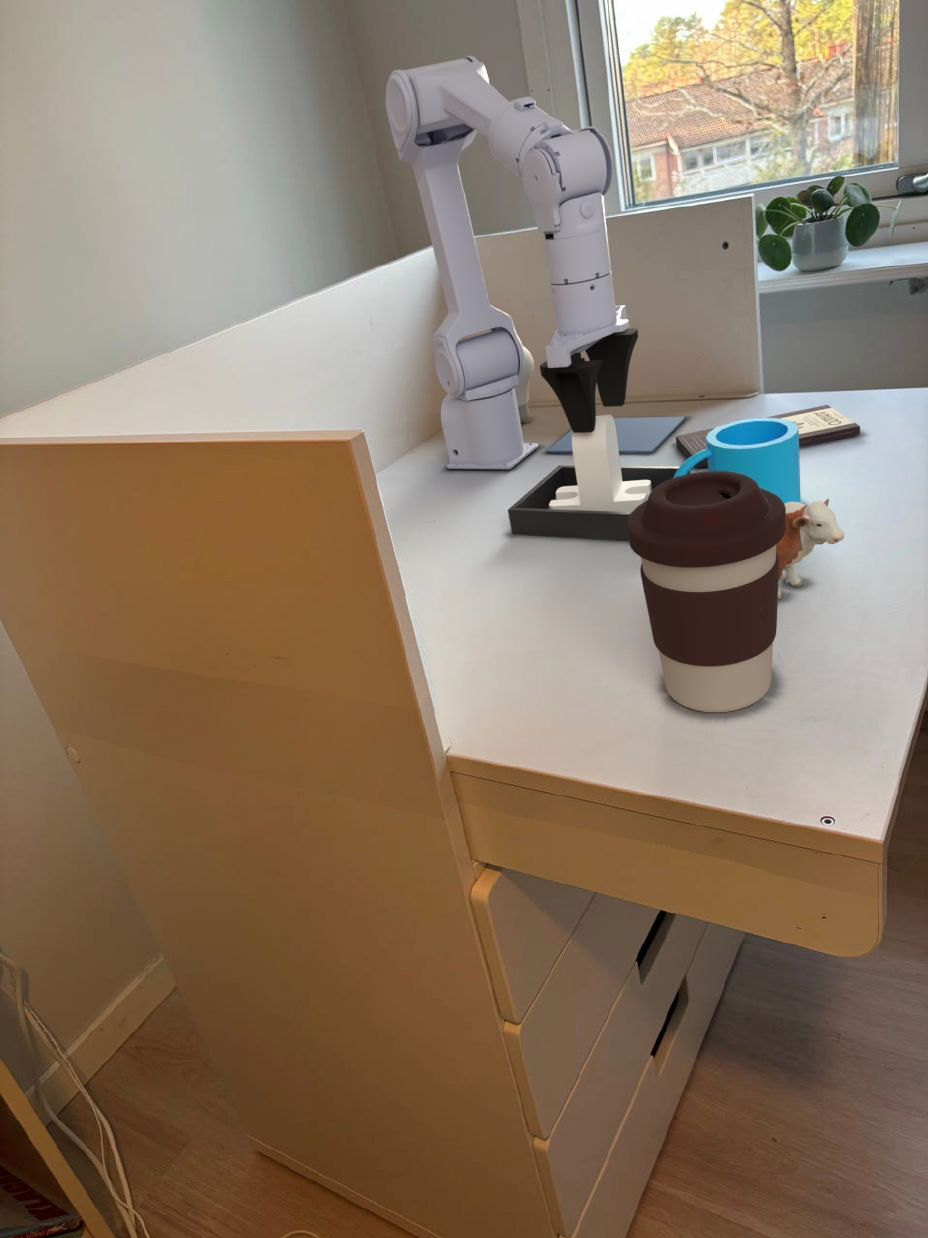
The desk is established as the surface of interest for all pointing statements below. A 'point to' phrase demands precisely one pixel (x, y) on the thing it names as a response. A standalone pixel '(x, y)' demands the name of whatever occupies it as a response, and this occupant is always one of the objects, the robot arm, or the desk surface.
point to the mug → (755, 454)
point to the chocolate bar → (811, 422)
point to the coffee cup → (711, 585)
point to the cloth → (632, 434)
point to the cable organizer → (600, 474)
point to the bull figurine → (805, 535)
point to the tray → (542, 521)
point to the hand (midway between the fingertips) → (599, 418)
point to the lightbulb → (524, 386)
